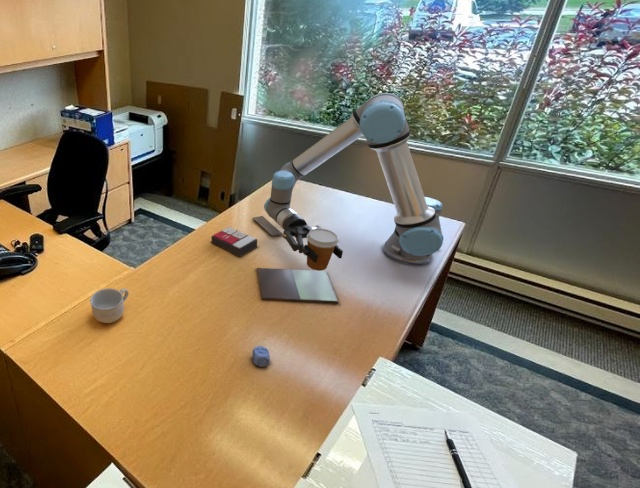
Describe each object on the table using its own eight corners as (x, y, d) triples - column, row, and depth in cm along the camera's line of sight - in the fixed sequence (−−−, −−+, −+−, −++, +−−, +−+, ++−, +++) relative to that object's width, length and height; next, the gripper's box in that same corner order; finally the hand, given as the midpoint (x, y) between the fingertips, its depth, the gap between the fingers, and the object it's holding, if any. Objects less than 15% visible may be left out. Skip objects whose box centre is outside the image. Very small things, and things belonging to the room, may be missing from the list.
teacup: (100, 332, 132) (98, 313, 128) (87, 312, 140) (84, 294, 136) (138, 316, 137) (137, 297, 133) (123, 298, 146) (122, 280, 142)
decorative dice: (251, 355, 120) (253, 345, 118) (266, 356, 120) (267, 346, 118) (254, 366, 117) (255, 356, 115) (268, 367, 116) (270, 357, 114)
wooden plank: (252, 216, 187) (262, 214, 188) (252, 219, 187) (262, 216, 188) (272, 235, 173) (283, 233, 174) (272, 238, 174) (282, 235, 174)
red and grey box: (228, 225, 177) (257, 237, 166) (228, 234, 179) (257, 246, 168) (211, 234, 172) (239, 247, 160) (211, 243, 174) (239, 257, 162)
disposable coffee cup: (296, 258, 144) (302, 229, 138) (323, 255, 145) (329, 226, 139) (309, 275, 136) (315, 244, 130) (337, 272, 136) (345, 241, 130)
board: (325, 273, 151) (325, 270, 150) (337, 304, 136) (338, 301, 136) (256, 270, 155) (257, 267, 154) (262, 299, 140) (262, 297, 140)
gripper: (316, 227, 156) (355, 261, 136) (264, 235, 153) (296, 271, 133) (319, 210, 152) (360, 242, 133) (266, 218, 149) (300, 252, 130)
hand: (328, 256), depth 133 cm, fingers closed on disposable coffee cup, 8 cm apart
